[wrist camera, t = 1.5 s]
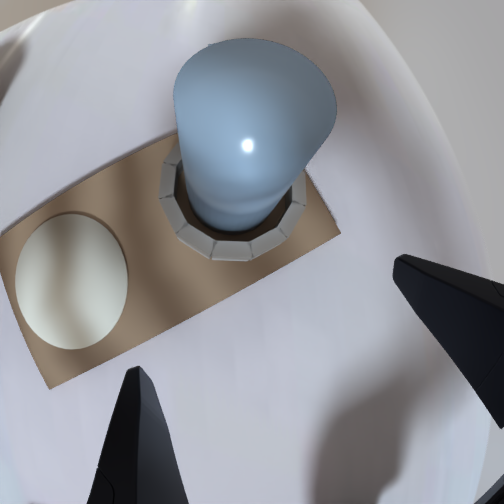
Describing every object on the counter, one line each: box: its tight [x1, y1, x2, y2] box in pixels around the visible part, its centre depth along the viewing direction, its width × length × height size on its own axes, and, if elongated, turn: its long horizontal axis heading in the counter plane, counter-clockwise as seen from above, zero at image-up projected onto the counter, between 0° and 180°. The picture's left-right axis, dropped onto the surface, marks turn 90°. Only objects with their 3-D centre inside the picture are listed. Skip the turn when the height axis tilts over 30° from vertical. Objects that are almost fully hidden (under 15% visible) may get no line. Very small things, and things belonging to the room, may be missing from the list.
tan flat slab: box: [0, 133, 341, 390], centre depth 20 cm, size 26×13×3 cm, turn 119°
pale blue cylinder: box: [173, 38, 337, 235], centre depth 17 cm, size 9×6×12 cm
